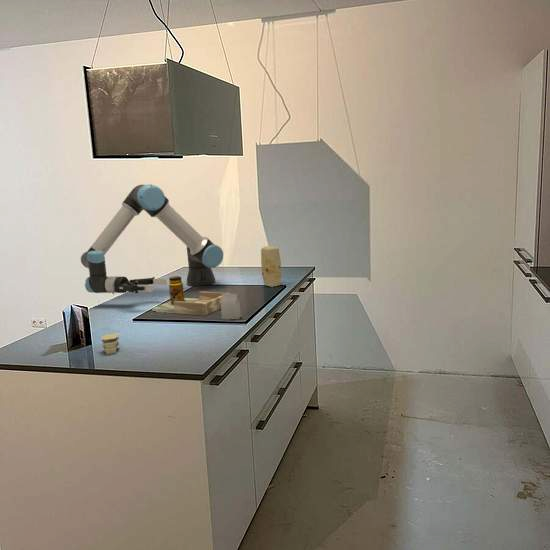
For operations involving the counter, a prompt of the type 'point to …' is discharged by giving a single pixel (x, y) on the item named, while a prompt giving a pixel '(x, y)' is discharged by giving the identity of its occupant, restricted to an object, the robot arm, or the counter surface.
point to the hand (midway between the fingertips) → (159, 284)
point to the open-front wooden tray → (194, 304)
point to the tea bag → (230, 306)
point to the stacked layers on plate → (110, 343)
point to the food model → (271, 266)
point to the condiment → (176, 290)
